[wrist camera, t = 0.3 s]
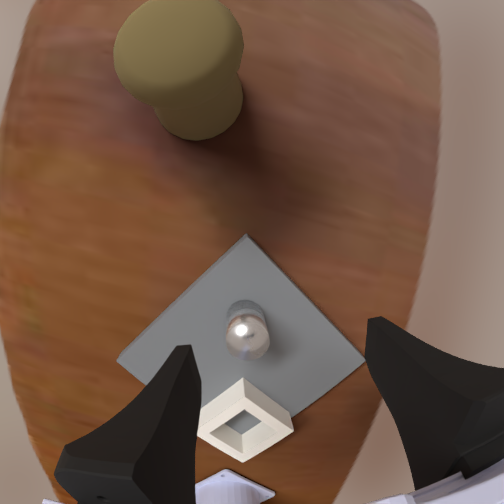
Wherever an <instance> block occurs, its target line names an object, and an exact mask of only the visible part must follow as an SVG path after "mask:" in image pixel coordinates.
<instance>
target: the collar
mask: <svg viewBox="0 0 504 504" xmlns="http://www.w3.org/2000/svg"><path fill="white" fill-rule="evenodd" d="M244 409H245V410H246V411H248V412H249V413H250V414H252V415H253V416H255V417H256V418H258V419H259V420H261V421H262V422H260V423H259V424H257V425H256V426H254V427H253V428H251V429H250V430H248V431H247V432H245V433H244V434H242V435H241V434H240V433H238V432H237V431H235V430H233V429H232V428H230V427H229V426H227V425H226V424H224V423H225V422H227V421H228V420H230V419H231V418H233V417H234V416H235V415H237V414H238V413H240V412H241V411H243V410H244ZM293 431H294V429H293V425H292V421H291V417H290V413H289V412H288V411H287V410H286V409H284V408H283V407H282V406H280V405H279V404H277V403H276V402H275V401H273V400H272V399H271V398H269V397H268V396H267V395H265V394H264V393H263V392H261V391H260V390H259V389H258V388H256V387H255V386H254V385H252V384H251V383H250V382H249V381H247V380H246V379H245V378H242V379H240V380H239V381H238V382H236V383H235V384H234V385H232V386H231V387H230V388H228V389H227V390H226V391H224V392H223V393H222V394H220V395H219V396H218V397H216V398H215V399H213V400H212V401H211V402H209V403H208V404H207V405H205V406H204V407H202V408H201V410H200V418H199V425H198V432H197V436H199V437H200V438H202V439H203V440H205V441H206V442H208V443H210V444H211V445H213V446H215V447H216V448H218V449H220V450H221V451H223V452H225V453H227V454H228V455H230V456H232V457H233V458H235V459H237V460H239V461H241V462H242V463H243V462H245V461H247V460H248V459H250V458H252V457H253V456H255V455H257V454H259V453H260V452H262V451H264V450H265V449H267V448H268V447H270V446H272V445H273V444H275V443H276V442H278V441H280V440H281V439H283V438H284V437H286V436H287V435H289V434H290V433H292V432H293Z"/></svg>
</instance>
